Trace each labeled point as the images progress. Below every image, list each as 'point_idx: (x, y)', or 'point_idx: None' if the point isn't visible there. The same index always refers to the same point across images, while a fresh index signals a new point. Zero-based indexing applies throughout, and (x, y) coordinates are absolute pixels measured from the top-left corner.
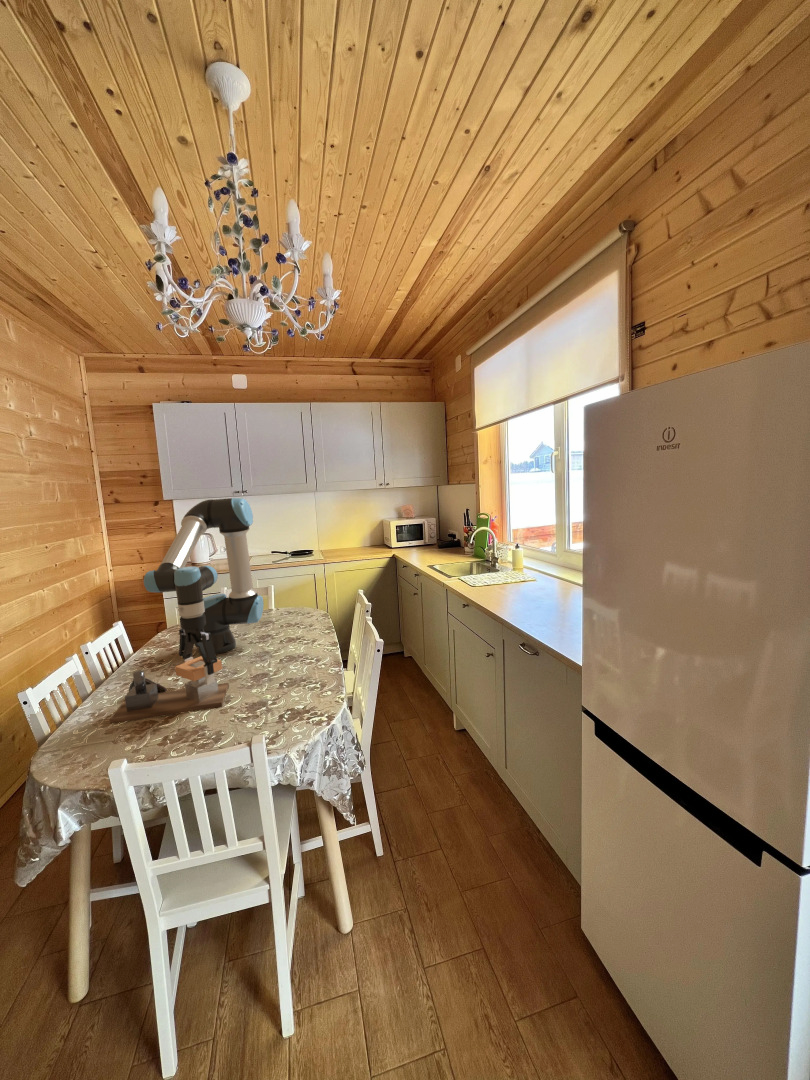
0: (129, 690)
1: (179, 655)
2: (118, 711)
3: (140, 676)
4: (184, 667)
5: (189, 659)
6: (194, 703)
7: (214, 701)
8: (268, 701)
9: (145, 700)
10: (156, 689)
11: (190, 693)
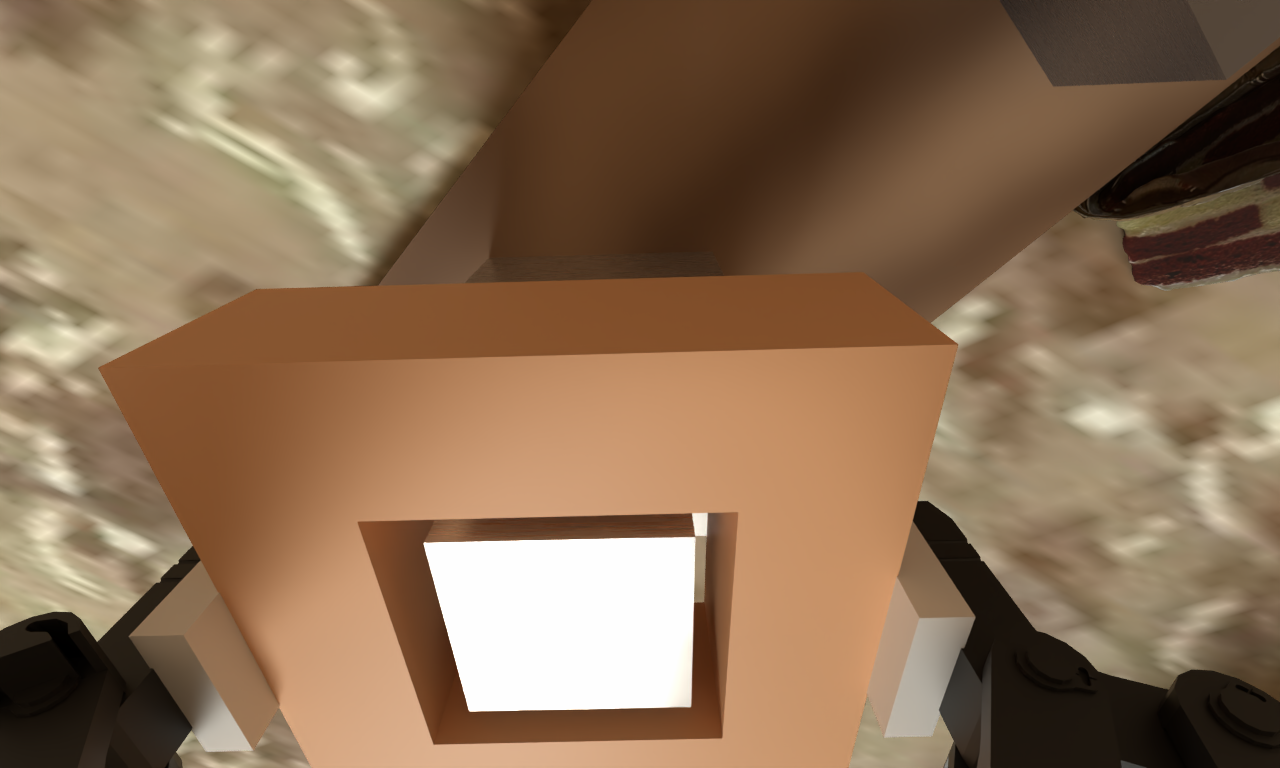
0: None
1: (1244, 686)
2: None
3: None
4: (633, 421)
5: (892, 663)
6: (513, 220)
7: None
8: (146, 541)
9: None
10: (1135, 59)
11: (629, 272)
